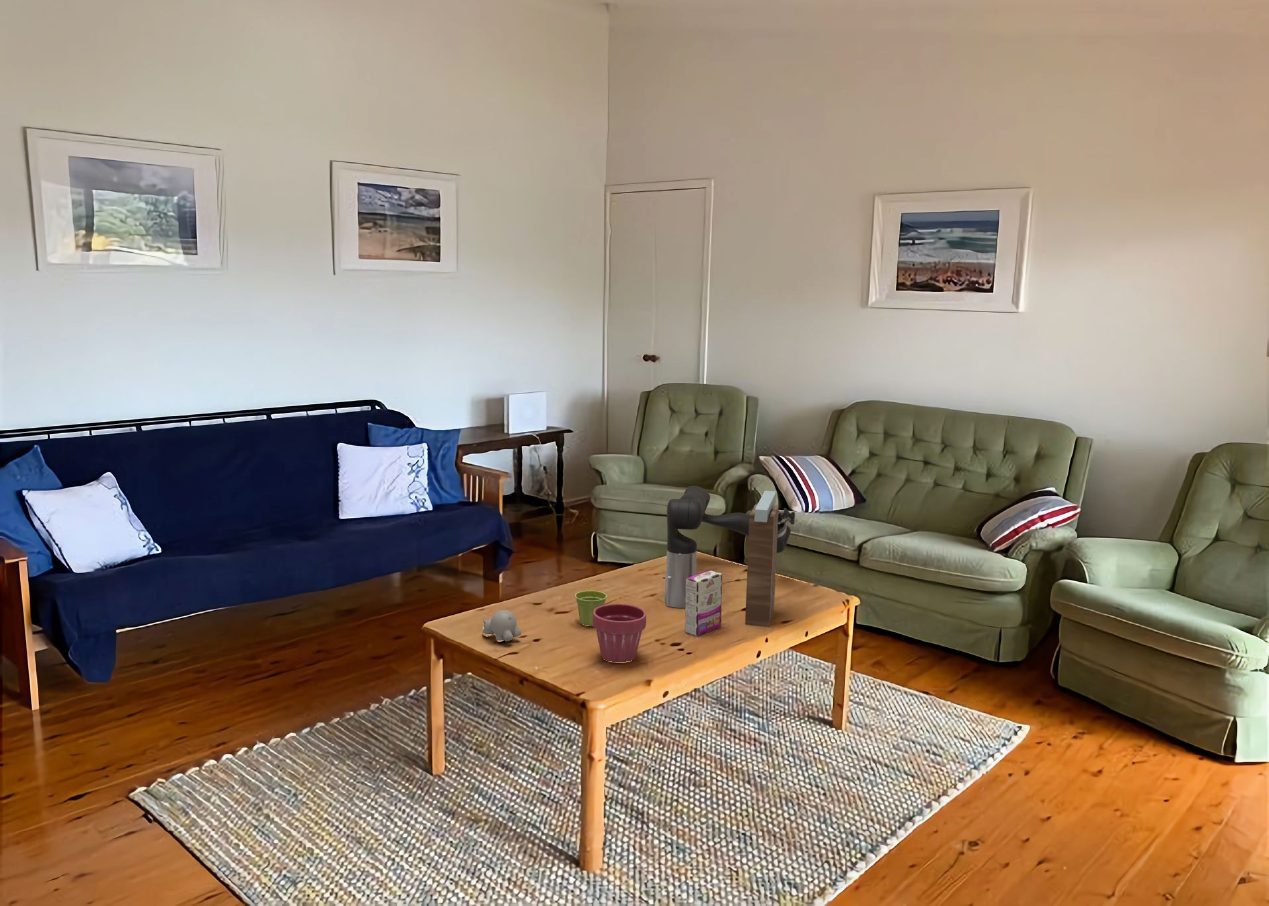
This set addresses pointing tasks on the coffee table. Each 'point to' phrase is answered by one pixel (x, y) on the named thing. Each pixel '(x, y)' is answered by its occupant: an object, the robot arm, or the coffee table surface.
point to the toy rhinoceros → (502, 625)
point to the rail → (765, 506)
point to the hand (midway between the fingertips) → (771, 510)
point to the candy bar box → (703, 603)
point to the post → (761, 569)
